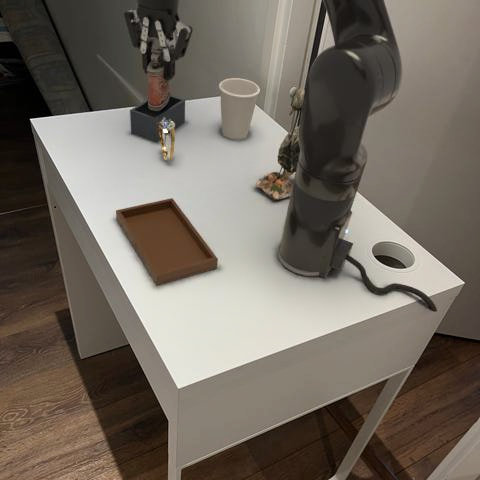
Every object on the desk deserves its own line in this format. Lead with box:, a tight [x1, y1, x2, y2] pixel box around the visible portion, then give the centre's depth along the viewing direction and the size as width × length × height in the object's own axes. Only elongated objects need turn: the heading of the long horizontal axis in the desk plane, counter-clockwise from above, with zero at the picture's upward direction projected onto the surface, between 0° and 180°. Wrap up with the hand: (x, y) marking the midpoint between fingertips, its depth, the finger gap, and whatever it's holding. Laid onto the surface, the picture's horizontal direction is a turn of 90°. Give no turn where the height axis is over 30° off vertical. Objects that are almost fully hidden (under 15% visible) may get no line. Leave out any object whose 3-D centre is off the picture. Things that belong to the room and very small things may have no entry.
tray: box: [115, 197, 218, 286], centre depth 81 cm, size 17×10×2 cm, turn 29°
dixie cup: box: [218, 77, 261, 141], centre depth 105 cm, size 8×8×10 cm
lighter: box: [147, 45, 171, 111], centre depth 99 cm, size 8×3×10 cm, turn 168°
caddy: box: [129, 94, 186, 144], centre depth 105 cm, size 6×11×5 cm, turn 153°
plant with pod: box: [254, 87, 305, 201], centre depth 89 cm, size 8×11×20 cm
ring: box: [158, 117, 176, 161], centre depth 96 cm, size 7×3×8 cm, turn 16°
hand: (158, 75), depth 98 cm, fingers closed on lighter, 4 cm apart
